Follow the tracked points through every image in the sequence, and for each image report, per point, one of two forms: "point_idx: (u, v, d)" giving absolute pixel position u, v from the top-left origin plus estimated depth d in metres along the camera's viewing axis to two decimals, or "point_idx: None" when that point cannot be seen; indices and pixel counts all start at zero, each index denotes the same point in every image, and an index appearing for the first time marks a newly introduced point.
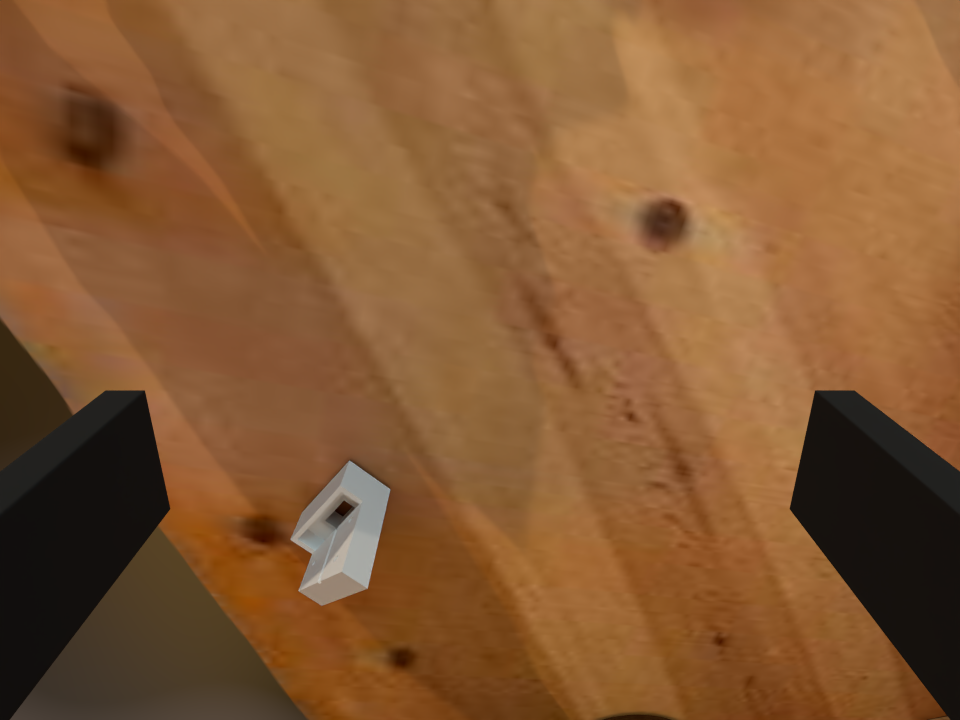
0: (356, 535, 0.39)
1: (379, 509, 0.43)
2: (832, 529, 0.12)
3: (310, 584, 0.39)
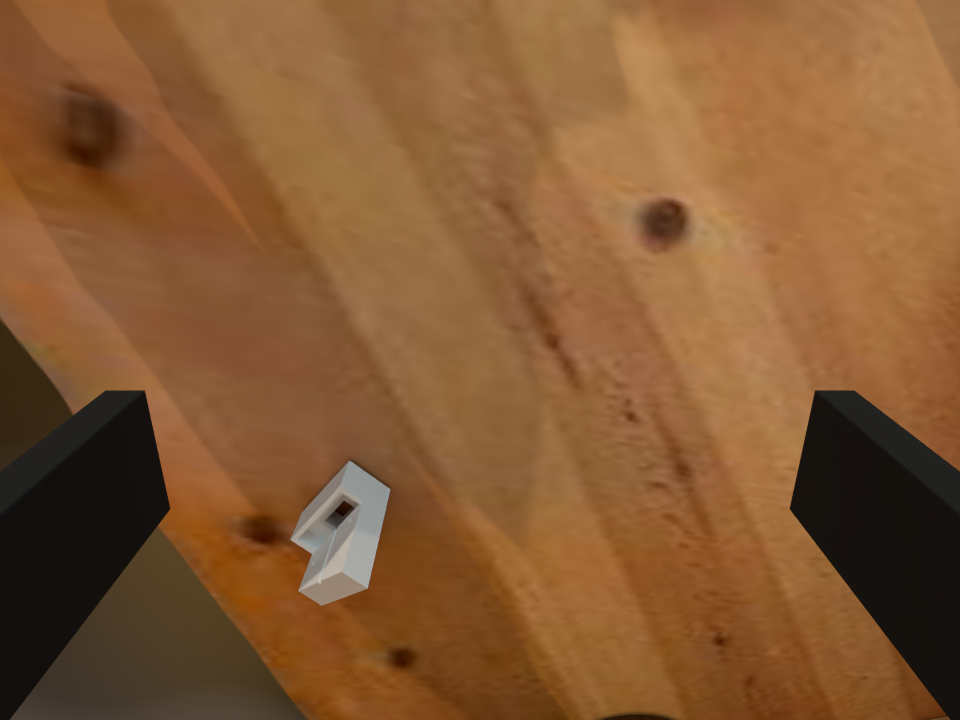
0: (356, 535, 0.39)
1: (379, 509, 0.43)
2: (832, 529, 0.12)
3: (310, 584, 0.39)
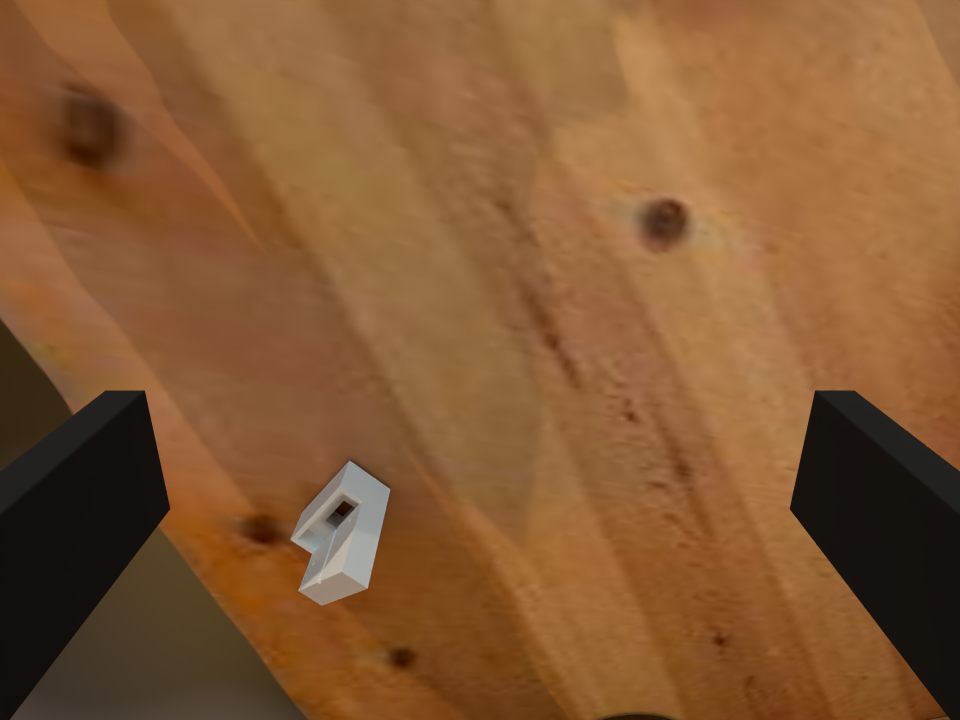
0: (356, 535, 0.39)
1: (379, 509, 0.43)
2: (832, 529, 0.12)
3: (310, 584, 0.39)
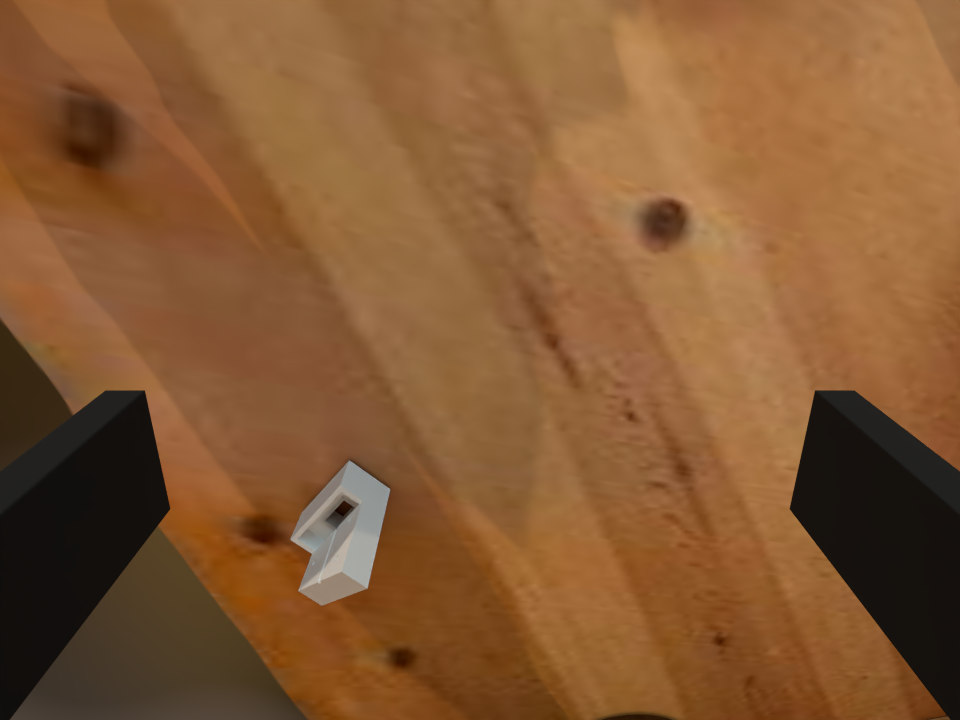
0: (356, 535, 0.39)
1: (379, 509, 0.43)
2: (832, 529, 0.12)
3: (310, 584, 0.39)
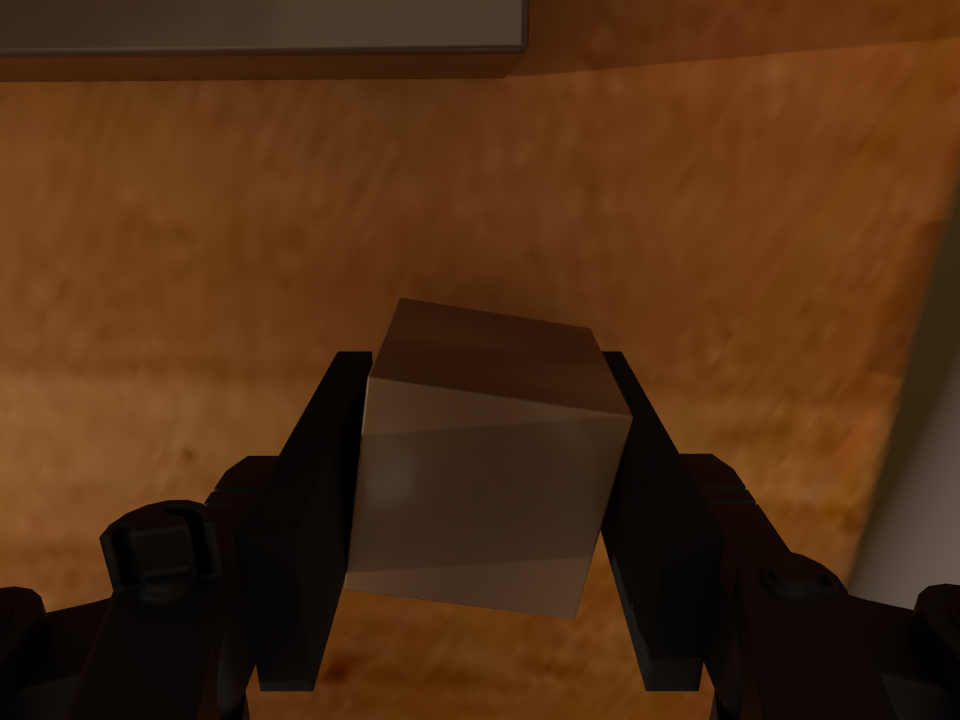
0: None
1: None
2: None
3: None
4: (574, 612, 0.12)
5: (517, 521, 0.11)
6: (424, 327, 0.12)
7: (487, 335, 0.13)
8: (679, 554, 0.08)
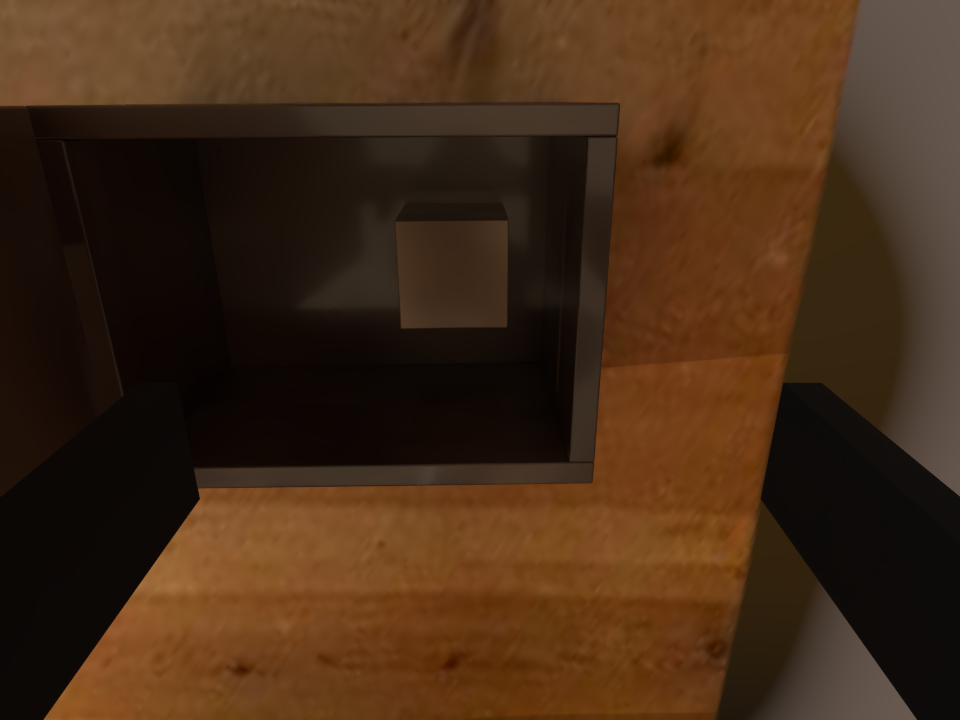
0: None
1: None
2: (798, 517, 0.12)
3: None
4: (506, 323, 0.26)
5: (470, 279, 0.25)
6: (418, 209, 0.26)
7: (447, 208, 0.27)
8: None
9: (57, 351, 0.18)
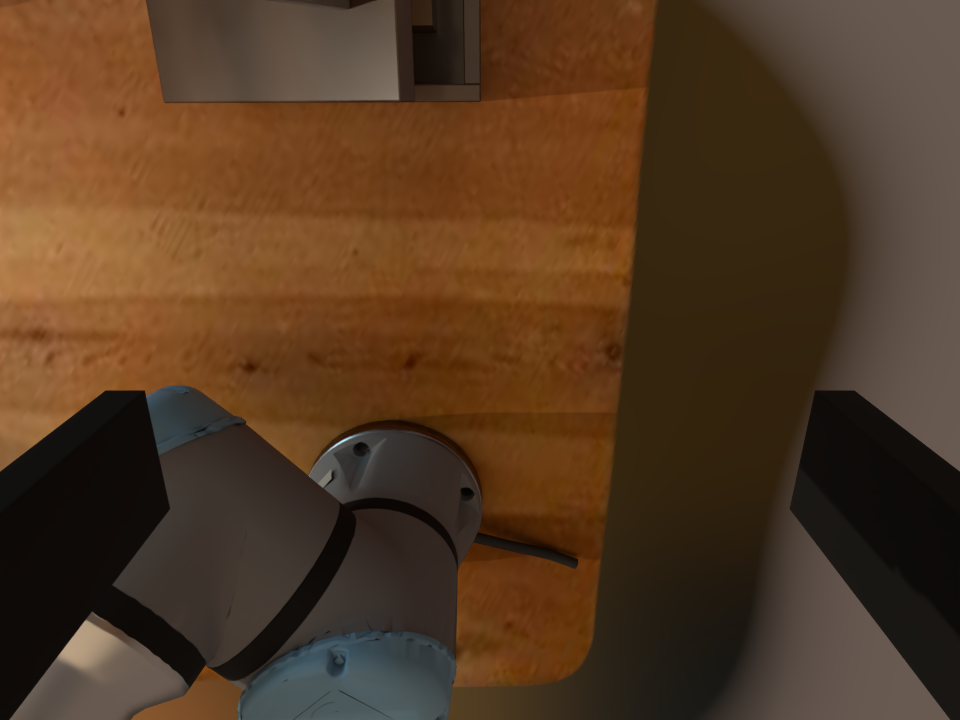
0: None
1: None
2: (832, 529, 0.12)
3: None
4: (431, 22, 0.38)
5: None
6: None
7: None
8: None
9: None
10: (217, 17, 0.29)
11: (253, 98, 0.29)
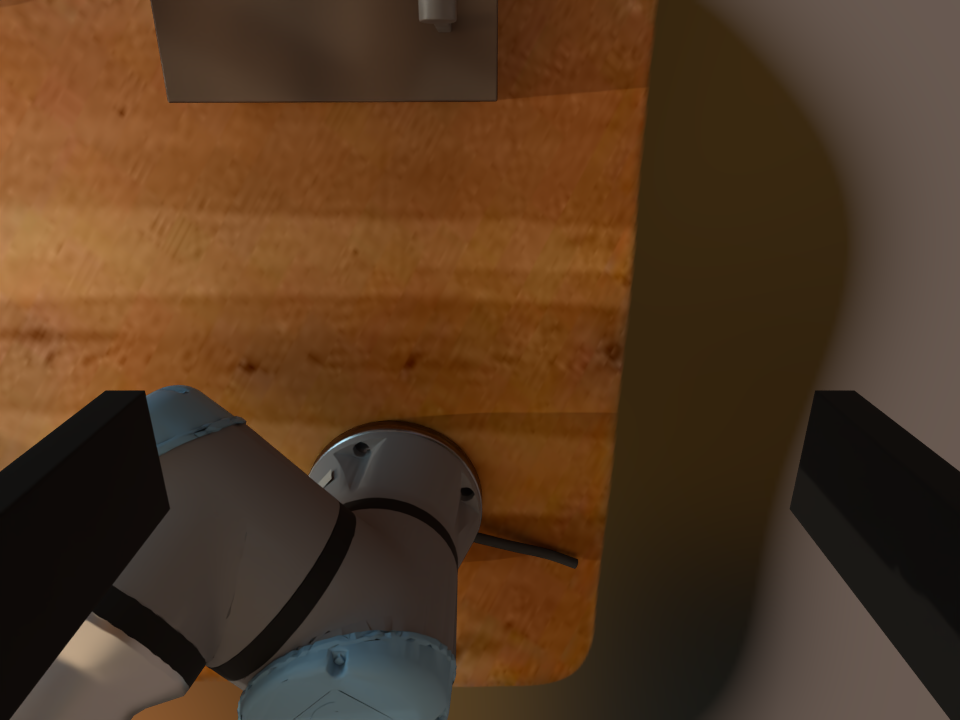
0: None
1: None
2: (832, 529, 0.12)
3: None
4: None
5: None
6: None
7: None
8: None
9: None
10: (275, 25, 0.33)
11: (320, 98, 0.34)
